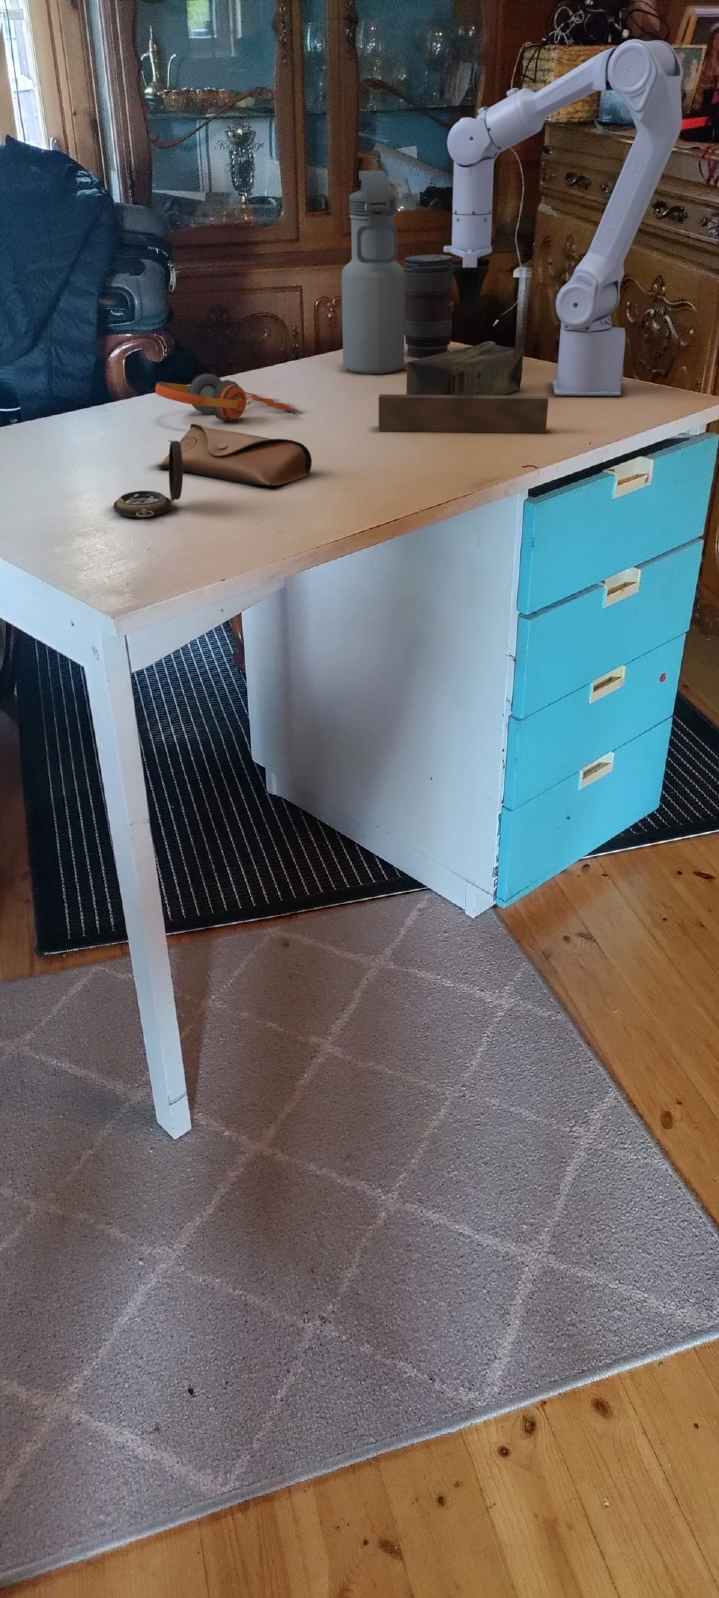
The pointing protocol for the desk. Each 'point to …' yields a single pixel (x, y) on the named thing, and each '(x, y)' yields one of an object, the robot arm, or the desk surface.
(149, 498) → the compass
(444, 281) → the camera lens
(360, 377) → the desk surface
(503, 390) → the beverage carton
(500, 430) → the backstop rail
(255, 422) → the desk surface
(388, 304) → the water bottle
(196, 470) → the sunglasses case
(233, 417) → the headphones
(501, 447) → the desk surface
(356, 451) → the desk surface
